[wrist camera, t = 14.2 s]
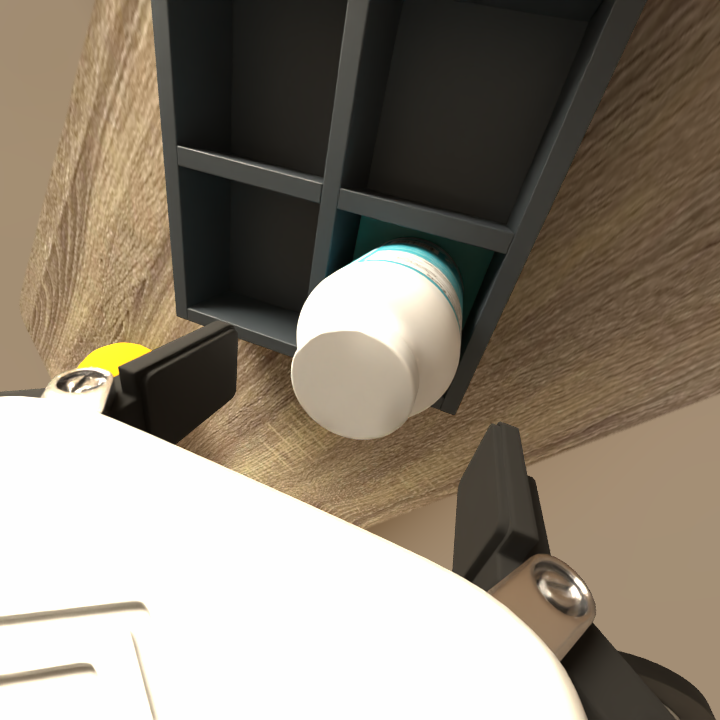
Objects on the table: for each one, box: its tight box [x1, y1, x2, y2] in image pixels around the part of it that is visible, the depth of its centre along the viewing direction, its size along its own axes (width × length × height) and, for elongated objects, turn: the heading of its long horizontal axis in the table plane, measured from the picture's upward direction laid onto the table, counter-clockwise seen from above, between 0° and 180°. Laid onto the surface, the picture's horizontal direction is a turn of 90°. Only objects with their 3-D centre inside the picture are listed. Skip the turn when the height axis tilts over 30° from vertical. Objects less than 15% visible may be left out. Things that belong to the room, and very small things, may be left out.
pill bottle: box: [291, 237, 463, 440], centre depth 17 cm, size 8×7×14 cm
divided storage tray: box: [151, 0, 647, 415], centre depth 20 cm, size 21×21×6 cm
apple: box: [78, 343, 151, 377], centre depth 33 cm, size 8×8×8 cm
